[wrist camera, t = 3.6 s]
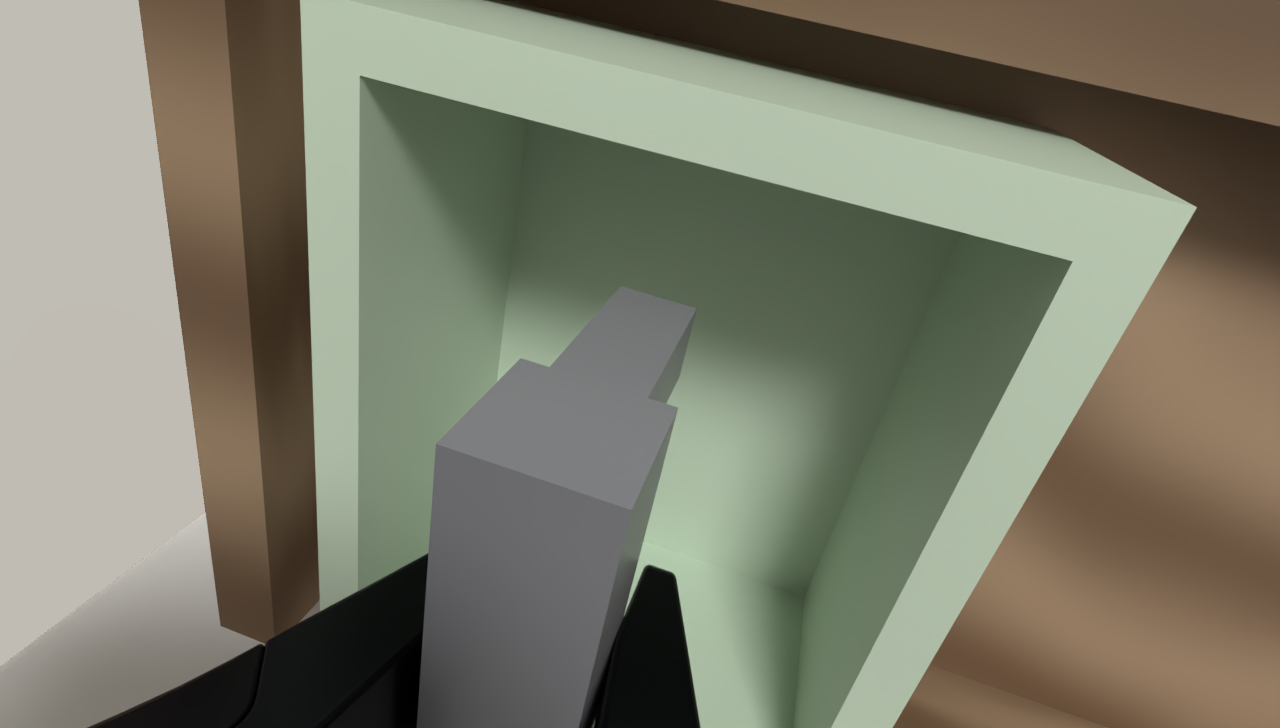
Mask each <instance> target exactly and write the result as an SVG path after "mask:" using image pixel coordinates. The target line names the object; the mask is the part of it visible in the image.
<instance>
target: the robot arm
mask: <svg viewBox="0 0 1280 728" xmlns="http://www.w3.org/2000/svg"><path fill="white" fill-rule="evenodd" d="M427 568H428V553H427V554H425V555H423V556H422V557H420V558H418V559H416V560H414V561H412V562H411V563H409V564H407V565H405V566H403V567H401V568H399V569H398V570H396V571H394V572H392V573H390V574H388V575H386V576H385V577H383V578H381V579H379V580H377V581H375V582H373V583H372V584H370V585H368V586H366V587H364V588H362V589H361V590H359V591H357V592H355V593H353V594H351V595H349V596H348V597H346V598H344V599H342V600H340V601H338V602H336V603H335V604H333V605H331V606H329V607H327V608H325V609H323V610H322V611H320V612H318V613H316V614H314V615H312V616H311V617H309V618H307V619H305V620H303V621H301V622H299V623H298V624H296V625H294V626H292V627H290V628H288V629H286V630H285V631H283V632H281V633H279V634H277V635H275V636H273V637H272V638H270V639H268V640H267V641H266V643H265V647H264V645H263V644H258V645H256V646H254V647H253V648H251V649H249V650H247V651H245V652H243V653H241V654H240V655H238V656H236V657H234V658H232V659H230V660H228V661H227V662H225V663H223V664H221V665H219V666H217V667H215V668H213V669H211V670H209V671H207V672H205V673H203V674H201V675H199V676H197V677H195V678H193V679H191V680H189V681H187V682H186V683H184V684H182V685H180V686H177V687H175V688H173V689H171V690H169V691H167V692H165V693H162V694H160V695H158V696H156V697H154V698H152V699H149V700H147V701H145V702H143V703H141V704H139V705H136V706H134V707H132V708H130V709H128V710H126V711H123V712H121V713H119V714H117V715H114V716H112V717H110V718H108V719H105V720H103V721H101V722H99V723H96V724H94V725H92V726H89V727H87V728H417V715H418V700H419V685H420V670H421V656H422V641H423V626H424V612H425V597H426V582H427ZM593 728H701V727H700V721H699V715H698V709H697V702H696V696H695V690H694V684H693V678H692V672H691V666H690V659H689V653H688V647H687V641H686V635H685V629H684V622H683V616H682V610H681V604H680V598H679V592H678V586H677V580H676V576H675V575H674V573H672V572H670V571H667V570H665V569H662V568H659V567H656V566H653V565H646V566H645V567H644V569H643V571H642V573H641V576H640V578H639V581H638V583H637V586H636V588H635V590H634V593H633V595H632V598H631V600H630V603H629V605H628V607H627V610H626V612H625V615H624V617H623V620H622V622H621V625H620V628H619V631H618V633H617V637H616V641H615V645H614V649H613V653H612V657H611V661H610V665H609V669H608V672H607V676H606V680H605V684H604V688H603V692H602V696H601V700H600V704H599V708H598V712H597V716H596V720H595V724H594V727H593Z"/></svg>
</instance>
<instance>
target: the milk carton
mask: <svg viewBox="0 0 1280 728" xmlns="http://www.w3.org/2000/svg"><path fill="white" fill-rule="evenodd" d="M318 612H320V600H319V601H318V602H317V603H316V605H315V606H314V607H313V608H312V609H311V610H310V611H309V612H308V613H307V614H306V615H305V616H304V618H303V619H302V620H301V621H303V620H305V619H307V618H309V617H311V616H312V615H314V614H316V613H318ZM301 621H300V622H301ZM258 644H263V645H264V647H265V644H264V643H262V642H259V641H257V640H254V639H252V638H249V637H247V636H244V635H242V634H239V633H237V632H234V631H232V630H229V629H227V628H224V627H222V626H220V619H219V611H218V603H217V596H216V588H215V580H214V573H213V565H212V557H211V550H210V542H209V534H208V527H207V519H206V512H204V513H203V514H202V515H201V516H199V517H198V518H196V519H195V520H194V521H193V522H191V523H190V524H188V525H187V526H186V527H184V528H183V529H182V530H180V531H179V532H178V533H177V534H175V535H174V536H173V537H171V538H170V539H169V540H167V541H166V542H165V543H163V544H162V545H161V546H159V547H158V548H157V549H155V550H154V551H153V552H151V553H150V554H149V555H147V556H146V557H145V558H143V559H142V560H141V561H139V562H138V563H137V564H135V565H134V566H133V567H131V568H130V569H129V570H127V571H126V572H125V573H123V574H122V575H121V576H120V577H118V578H117V579H116V580H114V581H113V582H112V583H110V584H109V585H108V586H106V587H105V588H104V589H102V590H101V591H100V592H98V593H97V594H96V595H94V596H93V597H92V598H90V599H89V600H88V601H86V602H85V603H84V604H82V605H81V606H80V607H78V608H77V609H76V610H75V611H73V612H72V613H71V614H69V615H68V616H67V617H65V618H64V619H63V620H61V621H60V622H59V623H58V624H56V625H55V626H54V627H52V628H51V629H49V630H48V631H47V632H45V633H44V634H43V635H41V636H40V637H39V638H37V639H36V640H35V641H34V642H32V643H31V644H30V645H28V646H27V647H25V648H24V649H23V650H22V651H20V652H19V653H18V654H16V655H15V656H14V657H12V658H11V659H10V660H8V661H7V662H6V663H4V664H3V665H2V666H0V728H87V727H89V726H92V725H94V724H96V723H99V722H101V721H103V720H105V719H108V718H110V717H112V716H114V715H117V714H119V713H121V712H123V711H126V710H128V709H130V708H132V707H134V706H136V705H139V704H141V703H143V702H145V701H147V700H149V699H152V698H154V697H156V696H158V695H160V694H162V693H165V692H167V691H169V690H171V689H173V688H175V687H177V686H180V685H182V684H184V683H186V682H187V681H189V680H191V679H193V678H195V677H197V676H199V675H201V674H203V673H205V672H207V671H209V670H211V669H213V668H215V667H217V666H219V665H221V664H223V663H225V662H227V661H228V660H230V659H232V658H234V657H236V656H238V655H240V654H241V653H243V652H245V651H247V650H249V649H251V648H253V647H254V646H256V645H258Z"/></svg>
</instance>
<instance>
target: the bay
mask: <svg viewBox="0 0 1280 728" xmlns="http://www.w3.org/2000/svg"><path fill="white" fill-rule="evenodd" d="M503 1H514V2H519V3H523V4H527V5H531V6H536V7H540V8H544V9H549V10H553V11H557V12H561V13H566V14H570V15H574V16H578V17H583V18H587V19H591V20H595V21H600V22H604V23H608V24H612V25H617V26H621V27H625V28H629V29H634V30H638V31H642V32H646V33H651V34H655V35H659V36H663V37H668V38H672V39H676V40H680V41H685V42H689V43H693V44H697V45H702V46H706V47H710V48H714V49H719V50H723V51H727V52H731V53H736V54H740V55H744V56H748V57H753V58H757V59H761V60H765V61H770V62H774V63H778V64H782V65H787V66H791V67H795V68H799V69H804V70H808V71H812V72H816V73H821V74H825V75H829V76H833V77H838V78H842V79H846V80H850V81H855V82H859V83H863V84H867V85H872V86H876V87H880V88H884V89H889V90H893V91H897V92H901V93H906V94H910V95H914V96H918V97H923V98H927V99H931V100H936V101H940V102H944V103H948V104H953V105H957V106H961V107H965V108H970V109H974V110H978V111H982V112H987V113H991V114H995V115H999V116H1004V117H1008V118H1012V119H1016V120H1021V121H1025V122H1029V123H1033V124H1038V125H1042V126H1046V127H1050V128H1052V129H1054V130H1055V131H1057V132H1059V133H1061V134H1063V135H1065V136H1067V137H1068V138H1070V139H1072V140H1074V141H1076V142H1078V143H1079V144H1081V145H1083V146H1085V147H1087V148H1089V149H1090V150H1092V151H1094V152H1096V153H1098V154H1100V155H1102V156H1103V157H1105V158H1107V159H1109V160H1111V161H1113V162H1114V163H1116V164H1118V165H1120V166H1122V167H1124V168H1125V169H1127V170H1129V171H1131V172H1133V173H1135V174H1137V175H1138V176H1140V177H1142V178H1144V179H1146V180H1148V181H1149V182H1151V183H1153V184H1155V185H1157V186H1159V187H1160V188H1162V189H1164V190H1166V191H1168V192H1170V193H1172V194H1173V195H1175V196H1177V197H1179V198H1181V199H1183V200H1184V201H1186V202H1188V203H1190V204H1192V205H1194V206H1195V207H1197V208H1196V210H1195V212H1194V213H1193V215H1192V217H1191V219H1190V220H1189V222H1188V224H1187V225H1186V227H1185V229H1184V231H1183V232H1182V234H1181V236H1180V237H1179V239H1178V241H1177V242H1176V244H1175V246H1174V248H1173V249H1172V251H1171V253H1170V254H1169V256H1168V258H1167V260H1166V261H1165V263H1164V265H1163V266H1162V268H1161V270H1160V272H1159V273H1158V275H1157V277H1156V278H1155V280H1154V282H1153V283H1152V285H1151V287H1150V289H1149V290H1148V292H1147V294H1146V295H1145V297H1144V299H1143V301H1142V302H1141V304H1140V306H1139V307H1138V309H1137V311H1136V313H1135V314H1134V316H1133V318H1132V319H1131V321H1130V323H1129V325H1128V326H1127V328H1126V330H1125V331H1124V333H1123V335H1122V336H1121V338H1120V340H1119V342H1118V343H1117V345H1116V347H1115V348H1114V350H1113V352H1112V354H1111V355H1110V357H1109V359H1108V360H1107V362H1106V364H1105V366H1104V367H1103V369H1102V371H1101V372H1100V374H1099V376H1098V377H1097V379H1096V381H1095V383H1094V384H1093V386H1092V388H1091V389H1090V391H1089V393H1088V395H1087V396H1086V398H1085V400H1084V401H1083V403H1082V405H1081V407H1080V408H1079V410H1078V412H1077V413H1076V415H1075V417H1074V419H1073V420H1072V422H1071V424H1070V425H1069V427H1068V429H1067V430H1066V432H1065V434H1064V436H1063V437H1062V439H1061V441H1060V442H1059V444H1058V446H1057V448H1056V449H1055V451H1054V453H1053V454H1052V456H1051V458H1050V460H1049V461H1048V463H1047V465H1046V466H1045V468H1044V470H1043V472H1042V473H1041V475H1040V477H1039V478H1038V480H1037V482H1036V483H1035V485H1034V487H1033V489H1032V490H1031V492H1030V494H1029V495H1028V497H1027V499H1026V501H1025V502H1024V504H1023V506H1022V507H1021V509H1020V511H1019V513H1018V514H1017V516H1016V518H1015V519H1014V521H1013V523H1012V524H1011V526H1010V528H1009V530H1008V531H1007V533H1006V535H1005V536H1004V538H1003V540H1002V542H1001V543H1000V545H999V547H998V548H997V550H996V552H995V554H994V555H993V557H992V559H991V560H990V562H989V564H988V566H987V567H986V569H985V571H984V572H983V574H982V576H981V577H980V579H979V581H978V583H977V584H976V586H975V588H974V589H973V591H972V593H971V595H970V596H969V598H968V600H967V601H966V603H965V605H964V607H963V608H962V610H961V612H960V613H959V615H958V617H957V618H956V620H955V622H954V624H953V625H952V627H951V629H950V630H949V632H948V634H947V636H946V637H945V639H944V641H943V642H942V644H941V646H940V648H939V649H938V651H937V653H936V654H935V656H934V658H933V660H932V661H931V663H930V665H929V666H928V668H927V670H926V671H925V673H924V675H923V677H922V678H921V680H920V682H919V683H918V685H917V687H916V689H915V690H914V692H913V694H912V695H911V697H910V699H909V701H908V702H907V704H906V706H905V707H904V709H903V711H902V713H901V714H900V716H899V718H898V719H897V721H896V723H895V724H894V726H893V728H1280V0H503ZM139 6H140V14H141V21H142V28H143V37H144V45H145V52H146V60H147V67H148V75H149V83H150V90H151V98H152V106H153V113H154V121H155V128H156V136H157V144H158V152H159V159H160V167H161V174H162V182H163V190H164V198H165V204H166V213H167V221H168V228H169V236H170V244H171V251H172V258H173V267H174V274H175V281H176V290H177V297H178V304H179V312H180V319H181V327H182V335H183V343H184V350H185V358H186V366H187V374H188V381H189V389H190V396H191V403H192V412H193V419H194V427H195V434H196V442H197V450H198V458H199V466H200V473H201V481H202V488H203V496H204V504H205V512H206V519H207V527H208V534H209V542H210V550H211V557H212V565H213V573H214V580H215V588H216V596H217V603H218V611H219V619H220V626H222V627H224V628H227V629H229V630H232V631H234V632H237V633H239V634H242V635H244V636H247V637H249V638H252V639H254V640H257V641H259V642H262V643H264V644H265V643H266V641H267V640H268V639H270V638H272V637H273V636H275V635H277V634H279V633H281V632H283V631H285V630H286V629H288V628H290V627H292V626H294V625H296V624H298V623H299V622H300V621H301V620H302V619H303V618H304V616H305V615H306V614H307V613H308V612H309V611H310V610H311V609H312V608H313V607H314V606H315V605H316V603H317V602H318V601H319V600H320V593H319V562H318V532H317V501H316V470H315V440H314V409H313V379H312V348H311V318H310V287H309V256H308V226H307V195H306V165H305V134H304V103H303V73H302V42H301V12H300V0H139Z"/></svg>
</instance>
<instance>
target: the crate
mask: <svg viewBox="0 0 1280 728" xmlns="http://www.w3.org/2000/svg"><path fill="white" fill-rule="evenodd" d="M300 12H301V42H302V73H303V103H304V134H305V165H306V195H307V226H308V256H309V287H310V318H311V348H312V379H313V409H314V440H315V470H316V501H317V532H318V562H319V593H320V611H322V610H323V609H325V608H327V607H329V606H331V605H333V604H335V603H336V602H338V601H340V600H342V599H344V598H346V597H348V596H349V595H351V594H353V593H355V592H357V591H359V590H361V589H362V588H364V587H366V586H368V585H370V584H372V583H373V582H375V581H377V580H379V579H381V578H383V577H385V576H386V575H388V574H390V573H392V572H394V571H396V570H398V569H399V568H401V567H403V566H405V565H407V564H409V563H411V562H412V561H414V560H416V559H418V558H420V557H422V556H423V555H425V554H427V553H428V568H427V582H426V597H425V612H424V626H423V641H422V656H421V670H420V685H419V700H418V715H417V728H593V727H594V724H595V720H596V716H597V712H598V708H599V704H600V700H601V696H602V692H603V688H604V684H605V680H606V676H607V672H608V669H609V665H610V661H611V657H612V653H613V649H614V645H615V641H616V637H617V633H618V631H619V628H620V625H621V622H622V620H623V617H624V615H625V612H626V610H627V607H628V605H629V603H630V600H631V598H632V595H633V593H634V590H635V588H636V586H637V583H638V581H639V578H640V576H641V573H642V571H643V569H644V567H645V566H646V565H653V566H656V567H659V568H662V569H665V570H667V571H670V572H672V573H674V575H675V576H676V580H677V586H678V592H679V598H680V604H681V610H682V616H683V622H684V629H685V635H686V641H687V647H688V653H689V659H690V666H691V672H692V678H693V684H694V690H695V696H696V702H697V709H698V715H699V721H700V727H701V728H893V726H894V724H895V723H896V721H897V719H898V718H899V716H900V714H901V713H902V711H903V709H904V707H905V706H906V704H907V702H908V701H909V699H910V697H911V695H912V694H913V692H914V690H915V689H916V687H917V685H918V683H919V682H920V680H921V678H922V677H923V675H924V673H925V671H926V670H927V668H928V666H929V665H930V663H931V661H932V660H933V658H934V656H935V654H936V653H937V651H938V649H939V648H940V646H941V644H942V642H943V641H944V639H945V637H946V636H947V634H948V632H949V630H950V629H951V627H952V625H953V624H954V622H955V620H956V618H957V617H958V615H959V613H960V612H961V610H962V608H963V607H964V605H965V603H966V601H967V600H968V598H969V596H970V595H971V593H972V591H973V589H974V588H975V586H976V584H977V583H978V581H979V579H980V577H981V576H982V574H983V572H984V571H985V569H986V567H987V566H988V564H989V562H990V560H991V559H992V557H993V555H994V554H995V552H996V550H997V548H998V547H999V545H1000V543H1001V542H1002V540H1003V538H1004V536H1005V535H1006V533H1007V531H1008V530H1009V528H1010V526H1011V524H1012V523H1013V521H1014V519H1015V518H1016V516H1017V514H1018V513H1019V511H1020V509H1021V507H1022V506H1023V504H1024V502H1025V501H1026V499H1027V497H1028V495H1029V494H1030V492H1031V490H1032V489H1033V487H1034V485H1035V483H1036V482H1037V480H1038V478H1039V477H1040V475H1041V473H1042V472H1043V470H1044V468H1045V466H1046V465H1047V463H1048V461H1049V460H1050V458H1051V456H1052V454H1053V453H1054V451H1055V449H1056V448H1057V446H1058V444H1059V442H1060V441H1061V439H1062V437H1063V436H1064V434H1065V432H1066V430H1067V429H1068V427H1069V425H1070V424H1071V422H1072V420H1073V419H1074V417H1075V415H1076V413H1077V412H1078V410H1079V408H1080V407H1081V405H1082V403H1083V401H1084V400H1085V398H1086V396H1087V395H1088V393H1089V391H1090V389H1091V388H1092V386H1093V384H1094V383H1095V381H1096V379H1097V377H1098V376H1099V374H1100V372H1101V371H1102V369H1103V367H1104V366H1105V364H1106V362H1107V360H1108V359H1109V357H1110V355H1111V354H1112V352H1113V350H1114V348H1115V347H1116V345H1117V343H1118V342H1119V340H1120V338H1121V336H1122V335H1123V333H1124V331H1125V330H1126V328H1127V326H1128V325H1129V323H1130V321H1131V319H1132V318H1133V316H1134V314H1135V313H1136V311H1137V309H1138V307H1139V306H1140V304H1141V302H1142V301H1143V299H1144V297H1145V295H1146V294H1147V292H1148V290H1149V289H1150V287H1151V285H1152V283H1153V282H1154V280H1155V278H1156V277H1157V275H1158V273H1159V272H1160V270H1161V268H1162V266H1163V265H1164V263H1165V261H1166V260H1167V258H1168V256H1169V254H1170V253H1171V251H1172V249H1173V248H1174V246H1175V244H1176V242H1177V241H1178V239H1179V237H1180V236H1181V234H1182V232H1183V231H1184V229H1185V227H1186V225H1187V224H1188V222H1189V220H1190V219H1191V217H1192V215H1193V213H1194V212H1195V210H1196V208H1197V207H1195V206H1194V205H1192V204H1190V203H1188V202H1186V201H1184V200H1183V199H1181V198H1179V197H1177V196H1175V195H1173V194H1172V193H1170V192H1168V191H1166V190H1164V189H1162V188H1160V187H1159V186H1157V185H1155V184H1153V183H1151V182H1149V181H1148V180H1146V179H1144V178H1142V177H1140V176H1138V175H1137V174H1135V173H1133V172H1131V171H1129V170H1127V169H1125V168H1124V167H1122V166H1120V165H1118V164H1116V163H1114V162H1113V161H1111V160H1109V159H1107V158H1105V157H1103V156H1102V155H1100V154H1098V153H1096V152H1094V151H1092V150H1090V149H1089V148H1087V147H1085V146H1083V145H1081V144H1079V143H1078V142H1076V141H1074V140H1072V139H1070V138H1068V137H1067V136H1065V135H1063V134H1061V133H1059V132H1057V131H1055V130H1054V129H1052V128H1050V127H1046V126H1042V125H1038V124H1033V123H1029V122H1025V121H1021V120H1016V119H1012V118H1008V117H1004V116H999V115H995V114H991V113H987V112H982V111H978V110H974V109H970V108H965V107H961V106H957V105H953V104H948V103H944V102H940V101H936V100H931V99H927V98H923V97H918V96H914V95H910V94H906V93H901V92H897V91H893V90H889V89H884V88H880V87H876V86H872V85H867V84H863V83H859V82H855V81H850V80H846V79H842V78H838V77H833V76H829V75H825V74H821V73H816V72H812V71H808V70H804V69H799V68H795V67H791V66H787V65H782V64H778V63H774V62H770V61H765V60H761V59H757V58H753V57H748V56H744V55H740V54H736V53H731V52H727V51H723V50H719V49H714V48H710V47H706V46H702V45H697V44H693V43H689V42H685V41H680V40H676V39H672V38H668V37H663V36H659V35H655V34H651V33H646V32H642V31H638V30H634V29H629V28H625V27H621V26H617V25H612V24H608V23H604V22H600V21H595V20H591V19H587V18H583V17H578V16H574V15H570V14H566V13H561V12H557V11H553V10H549V9H544V8H540V7H536V6H531V5H527V4H523V3H519V2H514V1H503V0H300Z"/></svg>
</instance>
